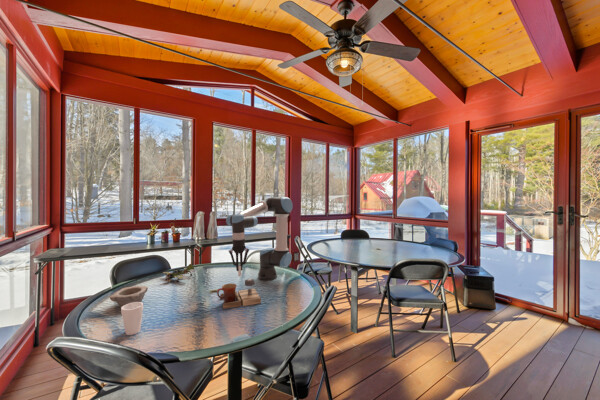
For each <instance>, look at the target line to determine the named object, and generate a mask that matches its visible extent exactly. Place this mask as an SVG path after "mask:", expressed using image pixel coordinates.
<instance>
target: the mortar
mask: <svg viewBox="0 0 600 400" xmlns="http://www.w3.org/2000/svg"><path fill="white" fill-rule="evenodd" d="M148 288H149V287H148V286H146V285H145V286H143V285H142V286H141V285H135V286H130V287H129V286H127V287H123V288H121V289H119V290H117V291H116V292H114V293H113V294H112V295H110V297H109V300H110V301H112V302H114V303H117V304H118V306H119V307H120V308H121V307H122V306H124V305H126V304H129V303H133V302H143V299H144V297H145V294H146V293H147V292H148Z"/></svg>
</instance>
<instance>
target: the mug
mask: <svg viewBox="0 0 600 400" xmlns="http://www.w3.org/2000/svg"><path fill="white" fill-rule="evenodd" d="M236 289H237V284H236V283H225V284H223V285H222V286H221V287H219V288H218V289H217V290H216V295H217V297H218V298H219V299H220V298H222V299H221V300H223V303H228V302H235V301H237V299H236V293H235V292H236V291H237V290H236ZM220 291H223V293H222V294H223V296H220V293H219V292H220Z"/></svg>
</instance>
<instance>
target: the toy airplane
mask: <svg viewBox="0 0 600 400" xmlns="http://www.w3.org/2000/svg"><path fill="white" fill-rule="evenodd" d="M192 272H196V269H195V267H194V266H193V264H191V263H189V264H188V265H187V267H184V268H183V270H182V269H175V270H173V271H172V272H171V271H163V272H162V274H164V275H165V277H164V278H165V279H164V280H165V281H166V282H167V280H168V282H171V280H172V279H175V278H176V279H177V280H176V283H177V282H178V283H179V282H180V281H179V279H181V280H188V279H189V277H188V276H186V275H190V276H193V273H192Z"/></svg>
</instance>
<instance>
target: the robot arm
mask: <svg viewBox="0 0 600 400" xmlns="http://www.w3.org/2000/svg"><path fill="white" fill-rule="evenodd" d="M293 204H294V203H293V201H292V200H291V198H289V197H287V196H272V197H267V198H265V199H263V200H261V201H259V202H258V203H257V204H256V205H253V206H250V207H249V208H247V209H245V210H243V211H241V212H238V213H236V214H232V215H231V214H230V215H228V216H227V217H226V219H225V222H226V223H225V224H226V225H227V226H230V227H232V229H231V230H232V231H231V233H232V237H231V238H232V248H231V249H230V250H228V253H229V255H230V258H231V261H232V264H233V266H235V268H236V271H237V276H238V277H242V271H243V266H245V265H246V263H247V258H248V254H249V252H250V249H249V248H247V247H246V240H245V237H246V235H245V234H246V233H245V229H249V228H253V227H256V226H257V225H258V221H259V220H258V217H257V216H260V215H261V214H266V213H269V212H274V215H275V216H276V219H275V220H276V224H275V225H276V227H275V228H276V229H275V230H276V231H275V248H274V247H267V248H261V249H260V251H259V270H258V273H257V279H259V280H262V281H270V280H274V279H277V277H278V274H277V270H276V267H280V268H287V267H289V266H290V264H291V262H292V259H293V256H292V255H293V254H292V253H291V252H290V250H289V248H288V217H289V216H290V213H291V212H292V210H293V206H294V205H293ZM244 252H245V253H244ZM233 253H234V254H235V258H234V254H233ZM243 256H244V257H243Z"/></svg>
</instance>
